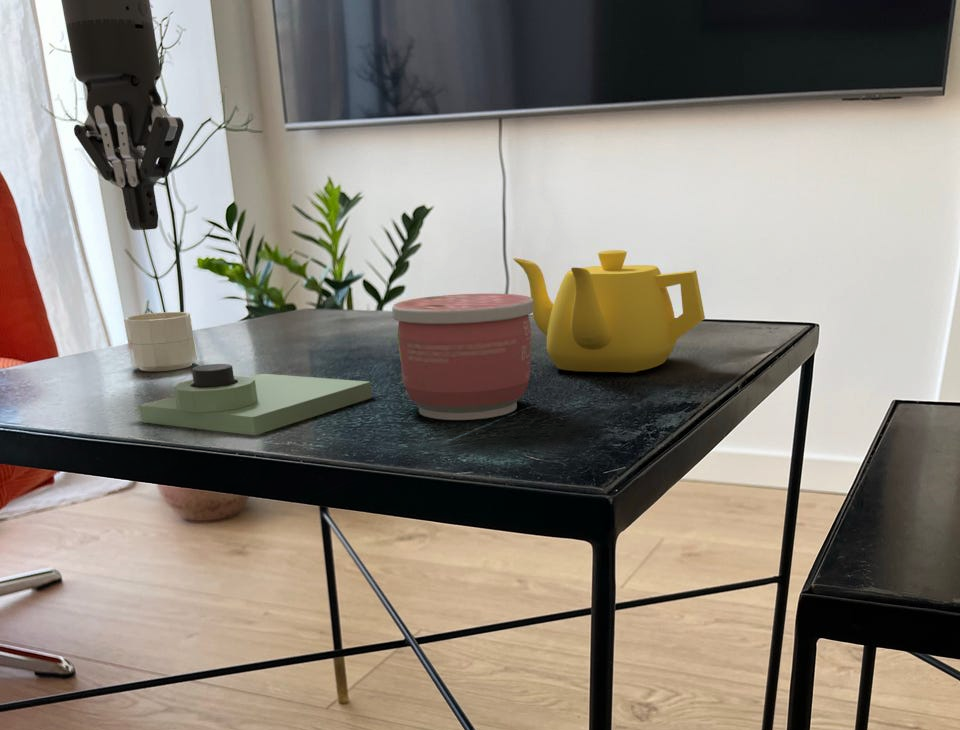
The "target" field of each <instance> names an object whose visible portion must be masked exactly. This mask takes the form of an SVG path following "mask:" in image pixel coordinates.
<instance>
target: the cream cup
mask: <svg viewBox="0 0 960 730" xmlns="http://www.w3.org/2000/svg"><path fill="white" fill-rule="evenodd" d="M191 315H192V314H191V313H190V312H186V311H185V312H184V311H165V312H164V311H163V312H151V313H142V314H141V313H140V314H136V315H130V316H127V317H124V319H123V322H124V327H125V333H126V338H127V339H126V340H127V343H128V350H129V356H130V361H131V365H132V366H133V367H136V368H138V369H139V371H142V372H150V373H151V372H152V373H155V372H167V371H169V372H170V371H176V370H182V369H187V368H190V367H192V366H193V362H196V361H197V360H198V353H197V347H196V341H195V334H194V328H193V322H192V316H191Z"/></svg>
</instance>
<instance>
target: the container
mask: <svg viewBox="0 0 960 730" xmlns="http://www.w3.org/2000/svg"><path fill="white" fill-rule="evenodd" d="M391 310H392V313H391V314H392V319H394V320H395V321H398V325H397V326H398V327H397V343H398V351H399V360H400V368H401V369H400V370H401V377H402V384H403V387H404V388H405V392H406V393H407V395H408V397H409V399H410V400H411V402H413V403H414V404H415V405H416V406H418V413H419V414H420V415H421V416H423V417H426V418H429V419H435V420H436V419H437V420H446V421H447V420H448V421H467V420H469V421H470V420H482V419H490V418H495V417H499V416H504V415H508V414H509V413H513V412H514V411H516V410H517V408H518V401H519V400H520V399H521V398H522V397H523V396H524V395H525V393H526V391H527V387H528V385H529V381H530V379H531V353H532V352H531V351H532V350H531V347H532V345H531V343H532V326H531V321H530V316H529V315H531V314H533V313H532V312H533V311H534V301H533V299H532V298H531V296H527V295H522V294H515V293H514V294H513V293H457V294H445V295H433V296H424V297H418V298H411V299H406V300H402V301H398V302H396V303H394V304H393V305H392V307H391Z"/></svg>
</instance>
